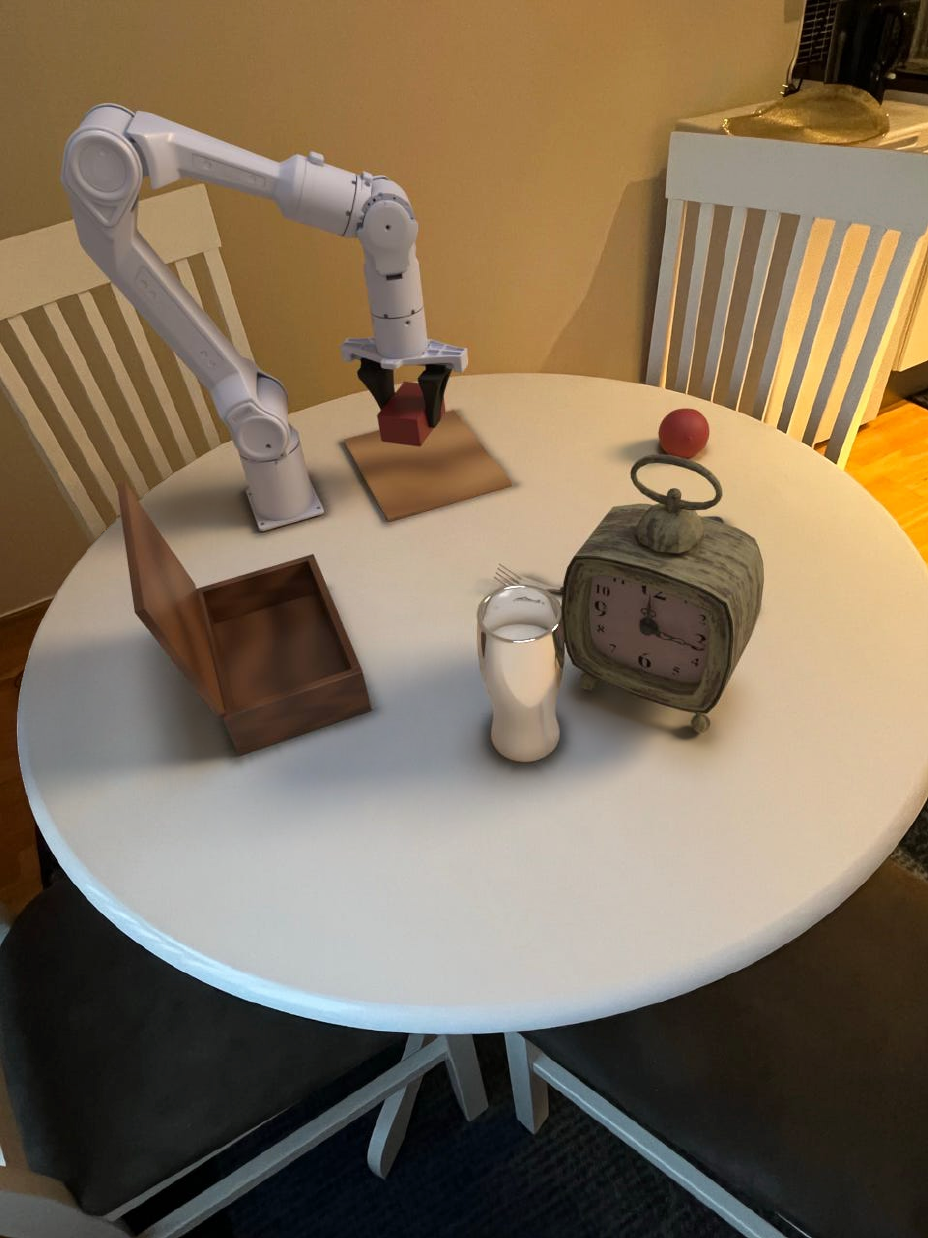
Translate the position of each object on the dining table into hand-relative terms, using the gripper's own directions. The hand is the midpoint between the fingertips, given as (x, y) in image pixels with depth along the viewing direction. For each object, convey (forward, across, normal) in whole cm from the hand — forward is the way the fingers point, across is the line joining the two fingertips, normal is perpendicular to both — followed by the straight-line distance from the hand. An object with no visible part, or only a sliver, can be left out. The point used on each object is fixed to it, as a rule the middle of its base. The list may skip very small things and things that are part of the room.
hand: (412, 420), depth 98 cm
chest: (+9, -1, -33) cm, 34 cm away
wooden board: (+9, -2, +4) cm, 10 cm away
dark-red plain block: (+1, 0, 0) cm, 1 cm away
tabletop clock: (+9, +34, -26) cm, 43 cm away
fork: (+9, +23, -15) cm, 29 cm away
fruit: (+9, +30, +14) cm, 34 cm away
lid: (-4, -7, -37) cm, 38 cm away
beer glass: (+9, +24, -34) cm, 43 cm away
